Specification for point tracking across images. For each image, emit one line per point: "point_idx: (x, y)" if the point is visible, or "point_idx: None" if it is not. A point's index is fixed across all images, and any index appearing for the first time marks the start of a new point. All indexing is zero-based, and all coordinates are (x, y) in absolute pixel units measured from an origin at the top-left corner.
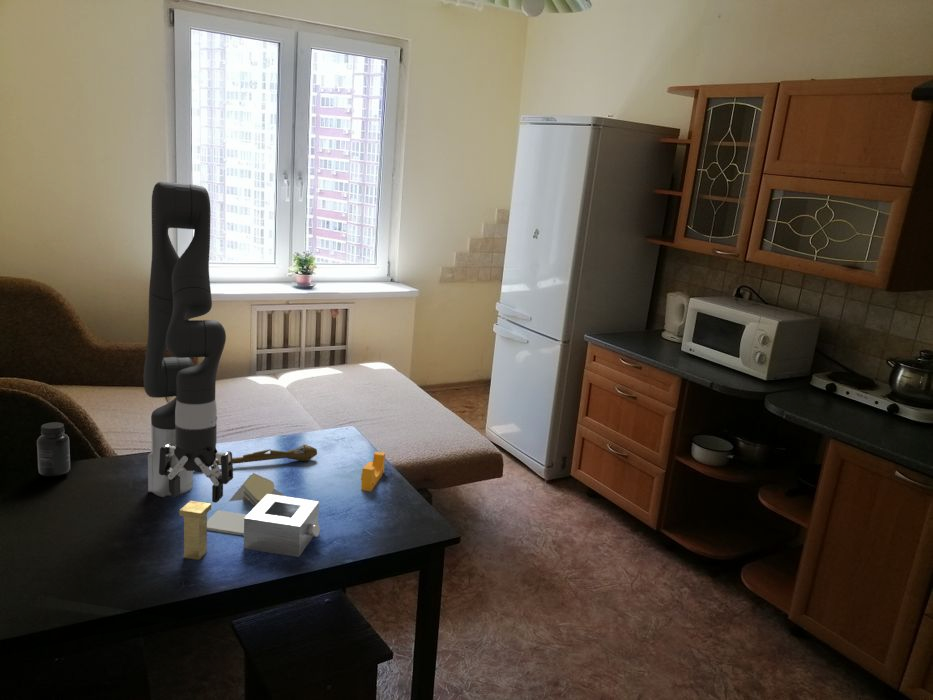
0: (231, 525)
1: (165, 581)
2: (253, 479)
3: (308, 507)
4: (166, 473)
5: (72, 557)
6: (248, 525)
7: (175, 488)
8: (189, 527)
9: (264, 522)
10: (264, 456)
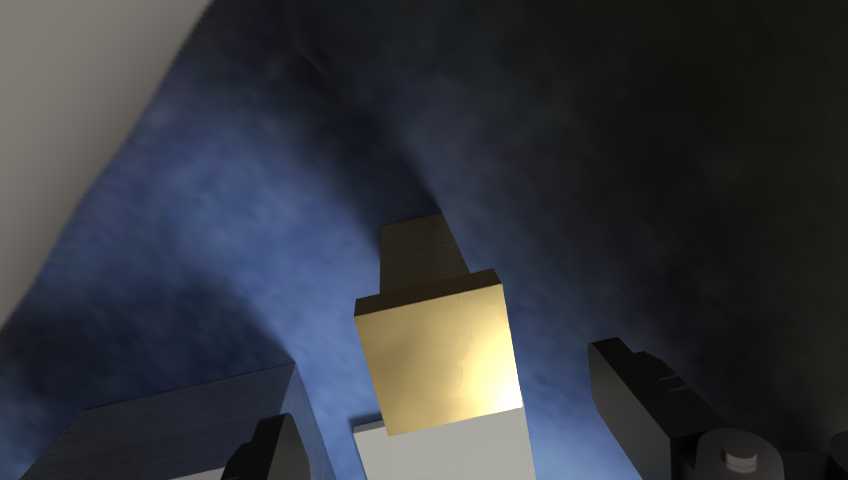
0: (430, 449)
1: (385, 36)
2: None
3: None
4: (816, 477)
5: (830, 4)
6: (252, 436)
7: (620, 391)
8: (434, 267)
9: (164, 476)
10: None
